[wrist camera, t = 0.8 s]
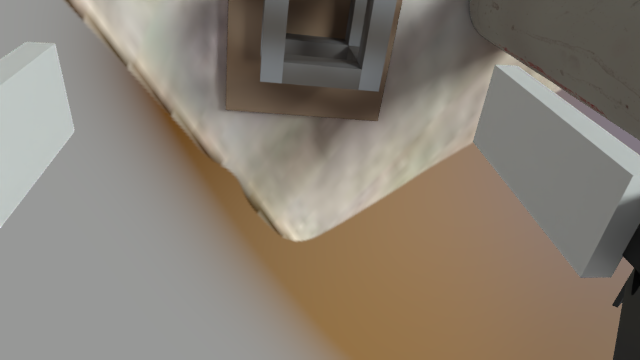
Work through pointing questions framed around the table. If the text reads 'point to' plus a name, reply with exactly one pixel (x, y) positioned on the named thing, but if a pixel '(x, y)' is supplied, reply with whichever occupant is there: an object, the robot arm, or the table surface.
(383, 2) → the collar stand
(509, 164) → the robot arm
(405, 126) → the table surface
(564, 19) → the thermos bottle
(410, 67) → the table surface
